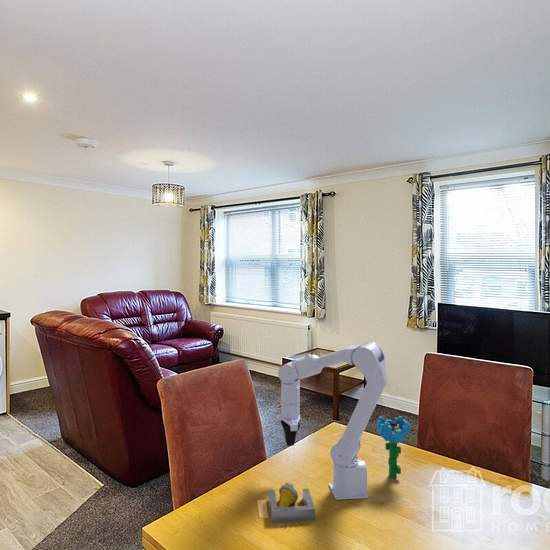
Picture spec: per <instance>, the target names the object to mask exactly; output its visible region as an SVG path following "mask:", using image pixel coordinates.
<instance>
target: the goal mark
mask: <svg viewBox="0 0 550 550" xmlns="http://www.w3.org/2000/svg"><path fill="white" fill-rule="evenodd" d="M257 510H258V519H268V518H269V514H268V513H269V512H268V506H267V499H257Z"/></svg>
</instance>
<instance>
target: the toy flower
mask: <svg viewBox="0 0 550 550" xmlns="http://www.w3.org/2000/svg"><path fill="white" fill-rule="evenodd" d="M376 423H377V424H376V425H377V428H376V430H377V433H378V435H379V436H381V438H382V439H383V440H384V441H385V442H386V443H385V445H384V446H385V450H386V451H388V461H387V462H388V476H389V478H390V479H397V478H398V477H397V476H398V475H401V474H402V473H401V470H402V469H401V466H400V465H398V457H400V454H401V455H402V447H401V446H398V444H400V443H401V442H403V441H404V439H405V438H407V436H408V435H409V434H410V433H411V424H410V423H409V421H407V420H406V419H403V416H401V415H399V416H398V417H394V420H392V419H385V417H384V416H379V417H378V420H377V422H376Z"/></svg>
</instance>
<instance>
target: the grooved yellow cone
mask: <svg viewBox="0 0 550 550" xmlns="http://www.w3.org/2000/svg"><path fill="white" fill-rule="evenodd" d="M294 486H295V484H292V483H289V482H288V481H287V482H285V484H283V485H281V486H280V488H279V490H278V491H279V493H278V494H279V499H278V504H277V507H290V506H291V505H292V504H295V503H297V501H298V499H299V494H298V492H297V490H296V489H295V488H294Z"/></svg>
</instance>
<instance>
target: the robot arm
mask: <svg viewBox="0 0 550 550" xmlns="http://www.w3.org/2000/svg"><path fill="white" fill-rule="evenodd" d="M340 363H341V364H342V363H346V364H348V365H349V366H353V365H354V367H355V368H356V369H358V371H359V372H360V373H361V374H362V375H363V377H364V379H365V382H366V384H365V387H364V389H363V390H362V393H361V395H360V397H359V398H358V399H359V400H358V402H357V403H356V406H355V408H354V411H353V412H352V414H351V416H350V419H349V421H348V423H347V425H346V427H345V429H344V431H343V433H342V435H341V436H340V437H339V440H337V442H336V443H335V444H334V445H332V446H331V449H330V451H329V453H330V458H331V460H332V482H329V483H328V486H329V488H330V491H331V493H332V496H333V497H334V500H336V501H339V500H340V501H341V500H343V501H344V500H356V499H358V500H359V499H368V498H369V496H368V495H369V494H368V469H367V465H366V462H365V461H364V459H359V458H358V456H357V454H358V453H359V451H360V450H361V446H362V445H361V441H362V438H363V433H364V432H365V429H366V427H367V425H368V423H369V421H370V419H371V417H372V414H373V413H374V410H375V408H376V406H377V405H378V402H379V401H380V398H381V396H382V394H383V391H384V390H385V388H386V386H387V383H388V374H387V367H386V355H385V352H384V351H383V350H382V348H381V345H379V344H378V343H376V342H372V341H370V342H366V343H364V344H362V343H359V344H354V345H351V346H347V347H343V348H342V349H339V350H335V351H334V352H331V353H327V354H325V355H321V356H318V355H316V354H311V353H308V354H305V355H304V357H303V358H299V359H297V358H295V359H292V360H291V361H290V362H288V363H285V364H283V365H282V366H280V367H279V368H278V372H277V373H278V374H277V375H278V378H279V380H280V381H281V382H280V383H281V384H280V385H281V389H280V393H281V395H280V400H281V401H280V408H281V410H280V414H277V415H276V417H277V420H280V424H281V426H282V428H283V432H284V433H283V434H284V439H285V443H286V446H287V447H291V446H292V447H293V446H295V442H296V437H297V435H298V432H299V430H300V427H301V424H300V421H301V415H300V410H301V408H300V402H301V401H300V399H301V398H300V397H301V396H300V395H301V394H300V391H301V390H300V389H301V387H300V386H301V384H300V382H301V380H302V379H304V378H309V377H312V376H315V375H319V374H320V373H322V370H323V368H326V367H327V368H328V367H330V366H333V365H336V364H340Z"/></svg>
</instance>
